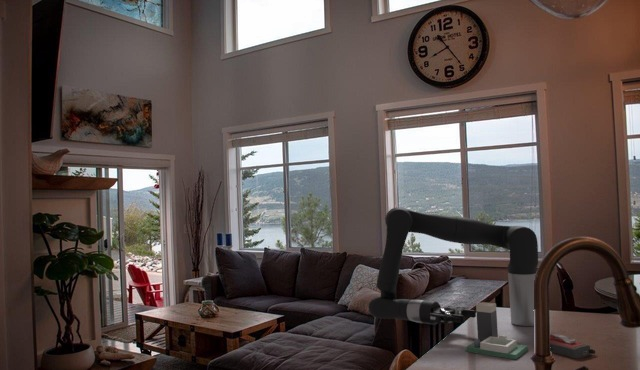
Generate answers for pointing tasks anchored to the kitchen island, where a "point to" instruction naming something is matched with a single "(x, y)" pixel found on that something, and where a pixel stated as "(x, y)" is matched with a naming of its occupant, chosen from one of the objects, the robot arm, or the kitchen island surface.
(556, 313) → the kitchen island surface
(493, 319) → the grey and cream block
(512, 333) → the kitchen island surface
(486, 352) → the controller board
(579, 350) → the walkie-talkie
